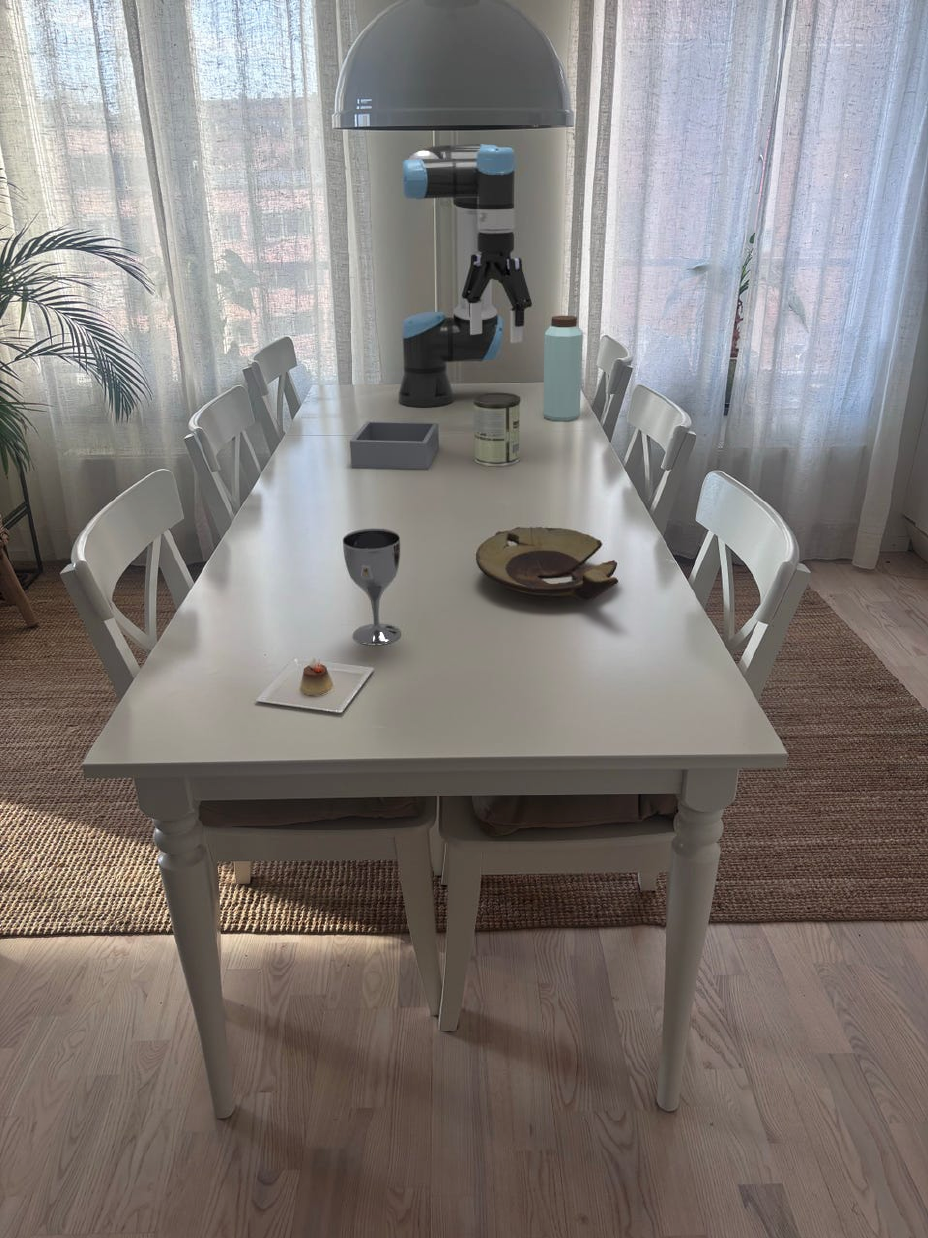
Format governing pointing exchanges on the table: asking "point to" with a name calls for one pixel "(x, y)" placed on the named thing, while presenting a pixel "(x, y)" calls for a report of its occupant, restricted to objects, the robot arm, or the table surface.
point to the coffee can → (497, 429)
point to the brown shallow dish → (545, 562)
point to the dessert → (314, 681)
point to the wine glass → (373, 576)
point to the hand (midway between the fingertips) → (495, 338)
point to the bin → (395, 445)
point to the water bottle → (562, 369)
